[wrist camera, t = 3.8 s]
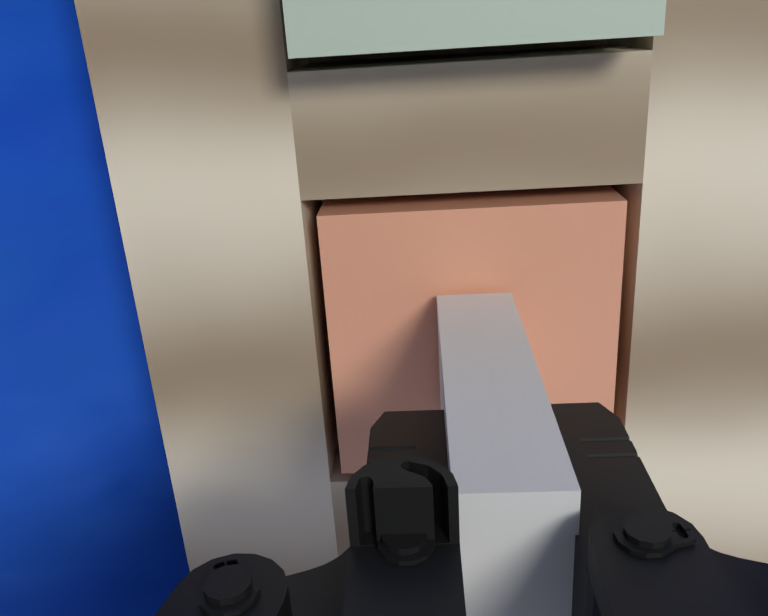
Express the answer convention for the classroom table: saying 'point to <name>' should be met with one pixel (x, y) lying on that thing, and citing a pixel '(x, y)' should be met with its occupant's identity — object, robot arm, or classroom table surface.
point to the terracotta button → (467, 292)
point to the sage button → (459, 23)
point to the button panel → (415, 177)
